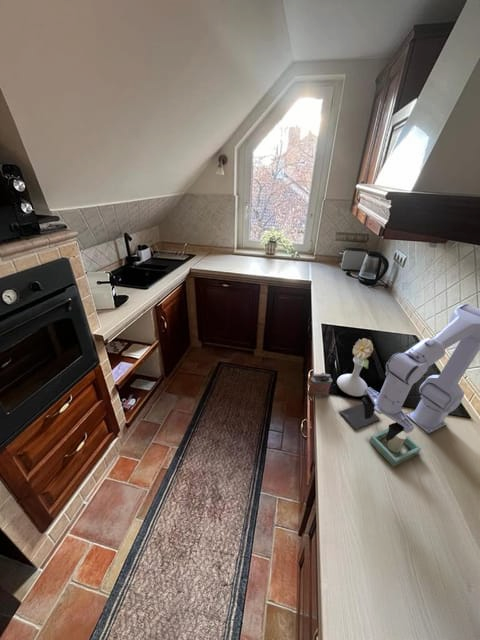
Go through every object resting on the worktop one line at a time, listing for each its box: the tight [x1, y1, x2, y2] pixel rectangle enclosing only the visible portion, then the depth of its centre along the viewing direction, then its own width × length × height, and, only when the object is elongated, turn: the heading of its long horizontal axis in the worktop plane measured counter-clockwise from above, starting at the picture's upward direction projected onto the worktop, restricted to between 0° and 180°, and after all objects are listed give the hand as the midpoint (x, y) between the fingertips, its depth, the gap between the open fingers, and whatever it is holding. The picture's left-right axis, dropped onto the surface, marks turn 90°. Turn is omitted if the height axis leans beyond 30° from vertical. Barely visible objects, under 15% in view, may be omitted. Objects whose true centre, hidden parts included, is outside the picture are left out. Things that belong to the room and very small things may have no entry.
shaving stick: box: [386, 431, 408, 453], centre depth 78 cm, size 3×3×6 cm
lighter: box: [307, 372, 333, 398], centre depth 95 cm, size 8×3×10 cm, turn 92°
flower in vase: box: [336, 337, 374, 397], centre depth 94 cm, size 13×11×25 cm
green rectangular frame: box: [369, 428, 422, 467], centre depth 79 cm, size 11×9×2 cm
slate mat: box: [339, 402, 381, 431], centre depth 89 cm, size 11×8×1 cm
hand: (377, 427), depth 74 cm, fingers open, 7 cm apart
